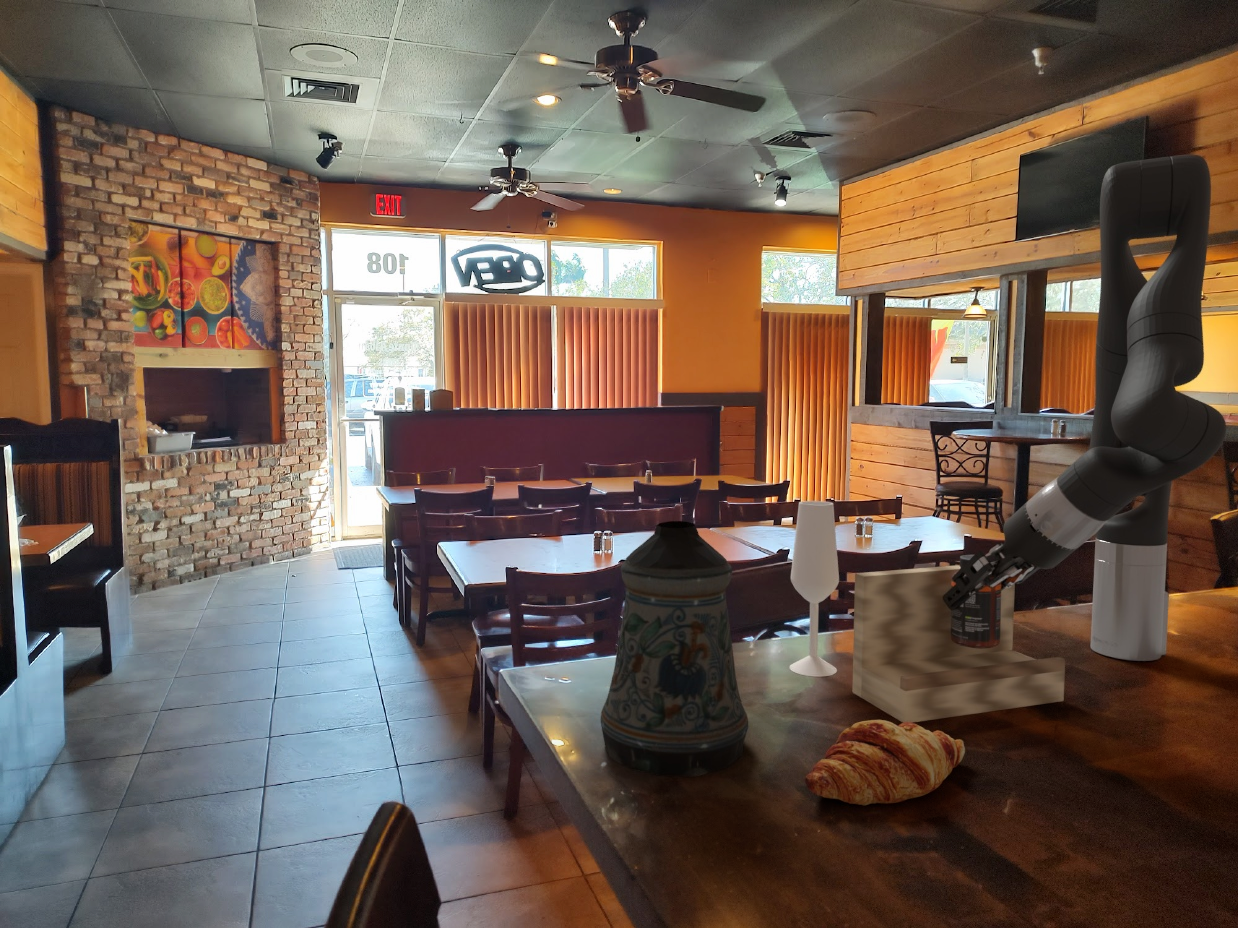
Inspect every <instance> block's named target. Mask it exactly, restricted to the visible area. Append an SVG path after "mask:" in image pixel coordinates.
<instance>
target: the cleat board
mask: <svg viewBox="0 0 1238 928" xmlns="http://www.w3.org/2000/svg"><path fill="white" fill-rule="evenodd" d="M960 568H961V567H960V566H959V565H946V566H933V567H920V568H919V567H918V568H908V569H906V568H905V569H895V570H883V571H869V572H868V571H867V572H855V573H854V605H853V606H854V609H853V612H854V613H853V614H854V616H853V645H852V646H853V648H852V649H853V652H852V653H853V655H852V656H853V658H852V694H853V695H856V696H858V697H859V698H861V699H863V700H864V701H866V702H868V703H870V705H872V706H874V707H876V708H877V709H880V710H881V711H883V712H884V713H886V714H887V715H889V716H892V718H895V719H896V720H898V721H900V722H901V723H905V722H911V723H918V722H926V721H932V720H933V721H934V720H939V719H940V720H941V719H945V718H955V717H960V716H968V715H974V714H981V713H988V712H995V711H996V712H997V711H1001V710H1002V711H1003V710H1009V709H1010V710H1011V709H1016V708H1017V709H1019V708H1023V707H1031V706H1037V705H1044V704H1053V703H1057V702H1058V703H1059V702H1064V698H1065V695H1064V694H1065V673H1066V672H1065V671H1066V658H1063V657H1061V656H1055V657H1047V658H1039V659H1036V658H1033V657H1031V656H1028V655H1026V654H1023V653H1021V652H1018V651H1016V650H1013V640H1014V638H1013V637H1014V616H1015V615H1014V613H1015V612H1014V611H1015V587H1016V586H1015V585H1016V582H1015V583H1014V584H1013V585H1012V586H1011V587H1010V588H1005V587H1004V588H1005V589H1003V590H1002V591H1001V624H1000V625H1001V628H1000V643H999V644H998V645H997V646H996V647H993V648H984V649H980V648H970V647H965V646H960V645H958V644H956V643H955V642H953V641H952V639H951V610H950V609H949V608H948V606H947V605H946V603H945V602H944V601H943V595H944V594H945V593H947V592H948V591H949V590H950V589H951V587H952V576H953V574H954V573H956V572H958V571H959V570H960Z"/></svg>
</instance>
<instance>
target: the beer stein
mask: <svg viewBox="0 0 1238 928" xmlns="http://www.w3.org/2000/svg"><path fill="white" fill-rule="evenodd" d="M620 572H621V579H622V581H623V583H624V585H625V598H624V599H625V600H624V605H623V611H622V619H621V626H620V632H619V638H618V643H617V649H616V656H615V663H614V668H613V674H612V675H611V676H612V677H611V680H610V681H611V682H610V685H609V690H608V694H607V697H606V699H605V702H604V705H603V706H602V709H601V713H600V725H601V726H600V727H601V731H602V737H603V742H604V746H605V747H604V748H605V751H606V752H607V753H608V755H609V757H610V758H611V759H612V760H613V761H615V762H617V763H618V764H620V765H623V766H624V767H626V768H627V769H630V770H634V771H638V772H643V773H646V774H651V775H654V776H661V777H665V776H666V777H699V776H702V775H706V774H709V773H712V772H716V771H719V770H723V769H725V768H728V767H730V766H731V765H732V764H733V763H735V762H736V761H737V760H738V759H739V758H741V757H742V755H743V753H744V743H745V739H746V736H747V733H748V730H749V726H750V725H749V718H748V715H747V714H748V713H747V712H746V710H745V707H744V705H743V704H742V700H741V696H740V692H739V691H740V690H739V687H738V679H737V674H736V668H735V667H736V666H735V659H734V658H735V657H734V650H733V649H734V648H733V642H732V635H731V633H732V632H731V625H730V618H729V611H728V605H727V597H726V596H727V595H726V592H727V591H726V589H727V588H728V586H729V585H730V583H731V579H732V574H733V567H732V566H731V564H730V563H729V562H728V561H727V559H726V558H725V556H723V555H722V554H721V553H720V552H719V551H718V550H716V549H715V548H714V547H713V546H712V545H711V544H709V542H707V541H706V540H705V539H704V538H703V537H702V536H700V534H699V531H698V528H697V526H696V524H695V523H693V522H689V521H683V520H672V521H671V520H670V521H669V520H668V521H663V522H659V523H658V524H657V525H656V527H655V530H654V533H653V534H652V535H651V536H649V538H647V539H646V540H645V541H644V542H643V543H642V544H640V545H639V546H638V547H637V548H635V549H634V550H632V552H630V554H629V555H628V556H626V558H625V560H624V561H623V562H622V563H621V566H620Z"/></svg>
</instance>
